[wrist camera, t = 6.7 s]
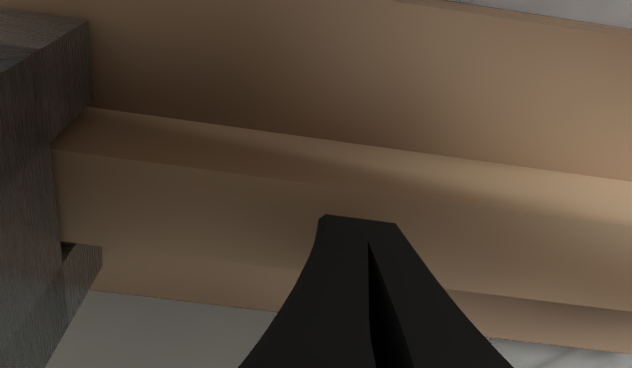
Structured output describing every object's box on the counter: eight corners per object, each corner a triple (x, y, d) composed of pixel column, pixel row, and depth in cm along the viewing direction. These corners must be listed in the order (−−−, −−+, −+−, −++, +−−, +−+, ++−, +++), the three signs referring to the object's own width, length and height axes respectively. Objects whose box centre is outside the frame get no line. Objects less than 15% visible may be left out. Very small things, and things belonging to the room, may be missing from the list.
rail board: (630, 329, 16) (749, 505, 11) (-99, 241, 14) (-282, 399, 10) (789, 53, 12) (1066, 159, 7) (-193, -98, 11) (-559, -80, 6)
